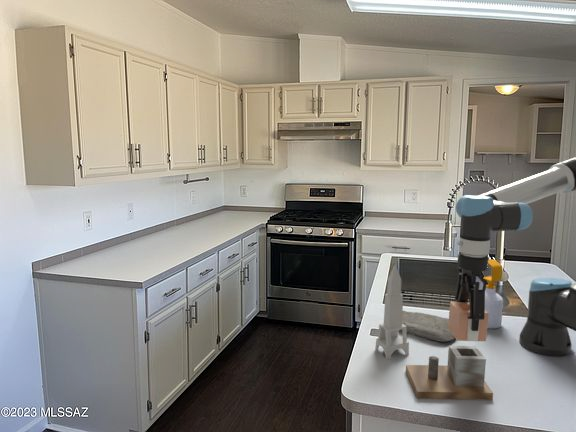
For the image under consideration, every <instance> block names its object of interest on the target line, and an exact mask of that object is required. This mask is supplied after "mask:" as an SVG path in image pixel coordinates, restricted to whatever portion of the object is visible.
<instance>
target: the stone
mask: <svg viewBox="0 0 576 432" xmlns="http://www.w3.org/2000/svg"><path fill="white" fill-rule="evenodd" d="M448 323H449V318H447V317H441V316H437V315H434V314H430V313H429V314H428V313H424V312H416V311H415V312H414V311H406V310H403V314H402V324H404V325H405V326H406V329H407V333H410V334H412V335H415V336H419V337H422V338H425V339H430V340H433V341H437V342H442V343H443V342H446V343H447V342H450V341H453V340H454V339H456V338H455V337H454V336H453V334H452V333H451V332H450V331H449V329H448Z"/></svg>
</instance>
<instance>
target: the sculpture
mask: <svg viewBox="0 0 576 432" xmlns="http://www.w3.org/2000/svg"><path fill="white" fill-rule="evenodd" d="M384 297H385V298H384V310H383V311H384V312H383V314H384V315H383V323H379V324H378V338H376V340H375V341H376V342H375V351H377V350H378V349H379V347H381V348H382V349H383V351H384V354H385V356H384V357H385V359H387V360H388V359H391V358H392V354H393V352H394V351H395V350H396V351H397V350H398V349H400V350H403V353H404V355H405V356H407V355H410V343H409V341H408V340H407V337H408V336H407V333H408V332H407V329H406V326H405V325H404V324H402V314H403V311H404V310H403V306H404V304H403V303H404V302H403V301H404V295H403V294H402V278H401V276H400V272H399V270H398V267H397V264H394V265H393V268H392V270H391V272H390V274H389V275H388V278H387V293H385V294H384ZM399 331H401V332H402V336H400V335H399Z"/></svg>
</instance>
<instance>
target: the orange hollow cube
mask: <svg viewBox="0 0 576 432" xmlns="http://www.w3.org/2000/svg"><path fill="white" fill-rule="evenodd" d="M488 315H489V313H488V312H487V311H486V310H485V315H484V320H480V323H479V334H478V341H477V342H487V334H488V328H487V325H488ZM468 317H470V305H469V301H468V302H457V301H450V302H449V313H448V319H449V323H448V329H449V331H450V332H451V333H452V334H453V336H454V337H455V338H454V339H456V341H460V342H463V341H464V342H468V341H467V329H468Z"/></svg>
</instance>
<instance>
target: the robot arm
mask: <svg viewBox="0 0 576 432" xmlns="http://www.w3.org/2000/svg"><path fill="white" fill-rule="evenodd" d="M573 191H574V192H575V191H576V157H573V158H569V159H566V160H562V161H561V162H558V163H555V164H553V165H551V166H550V167H549V168H548V170H545V171H542V172H540V173H537V174H534V175H531V176H528V177H526V178H522V179H520V180H517V181H515V182H512V183H510V184H506V185H504V186H503V185H502V186H500V187H498V188H496V189H492V190H489V191H486V192H483V193H481V194H478V195H473V194H465V195H463V196H461V197H459V198H458V200H457V202H456V204H455V205H456V206H455V211H456V213H457V216H458V217H459V218H460V226H459V241H457V245H458V252H459V253H458V254H457V267H458V269H457V280H456V287H455V295H454V300H455V301H456V302H469V305H470V317H468V329H467V341H466V342H479V341H478V334H479V323H480V320H484V315H485V291H486V285H487V281H482V272H484V271H487V269H488V266H489V264H488V260H489V254H490V245H491V234H492V232H506V231H507V232H510V231H514V232H517V231H520V230H525V229H528V228H529V227H530V226H531V224H532V223H533V218H534V217H533V216H534V214H533V209H532V208H531V207H530V205H528V204H531V203H534V202H537V201H539V200H541V199H544V198H548V197H550V196H553V195H555V194H558V193H560V194H567V193H570V192H573ZM530 282H531V283H530V287H529V290H528V303H527V304H528V306H527V308H528V309H527V318H526V322H525V323H524V325H523V327H522V329H521V332H520V334H519V343H520V345H521V346H523V347H524V348H525V349H527V350H529V351H532V352H534V353H536V354H537V353H538V354H541V355H545V356H550V357H563V356H568V355H570V354H571V352H572V345H573V344H572V341H571V336H570V333H569V329H570V330H572V331H575V332H576V282H575V283H572V281H571V280H568V279H564V278H556V277H540V278H535V279H533V280H532V281H530Z"/></svg>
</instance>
